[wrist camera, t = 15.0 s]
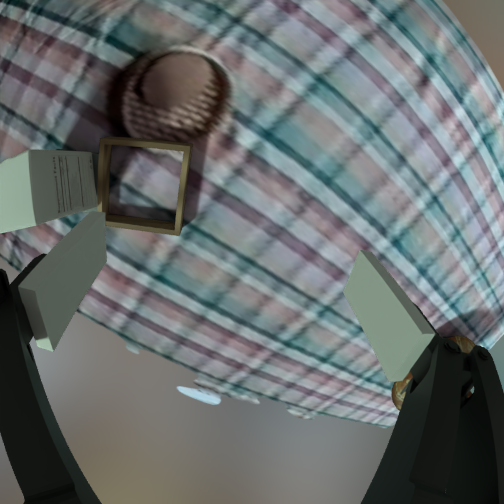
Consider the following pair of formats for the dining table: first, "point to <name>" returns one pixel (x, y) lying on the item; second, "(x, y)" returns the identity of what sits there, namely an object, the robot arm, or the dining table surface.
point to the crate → (135, 222)
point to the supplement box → (45, 187)
